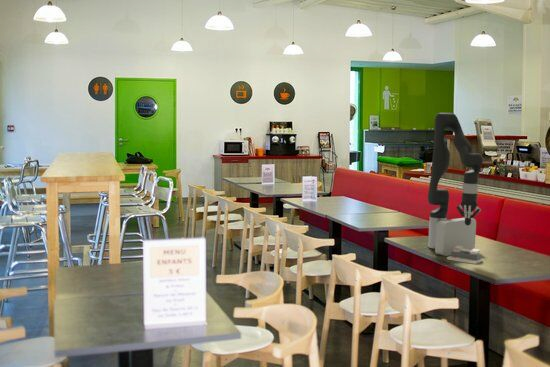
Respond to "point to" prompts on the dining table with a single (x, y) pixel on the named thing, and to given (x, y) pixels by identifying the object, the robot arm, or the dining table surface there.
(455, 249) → the rocker
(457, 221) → the rounded white slab
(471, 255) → the switch unit
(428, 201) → the robot arm
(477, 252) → the rocker
